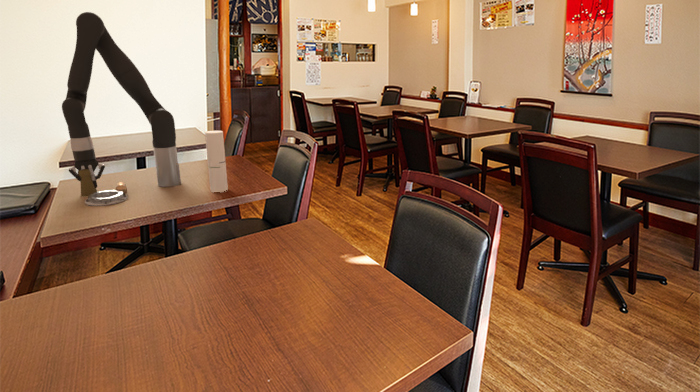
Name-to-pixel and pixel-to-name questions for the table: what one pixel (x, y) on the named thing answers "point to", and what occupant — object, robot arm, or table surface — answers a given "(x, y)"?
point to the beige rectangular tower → (216, 161)
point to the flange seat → (106, 198)
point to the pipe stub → (121, 187)
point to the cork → (86, 183)
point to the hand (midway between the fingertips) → (91, 189)
